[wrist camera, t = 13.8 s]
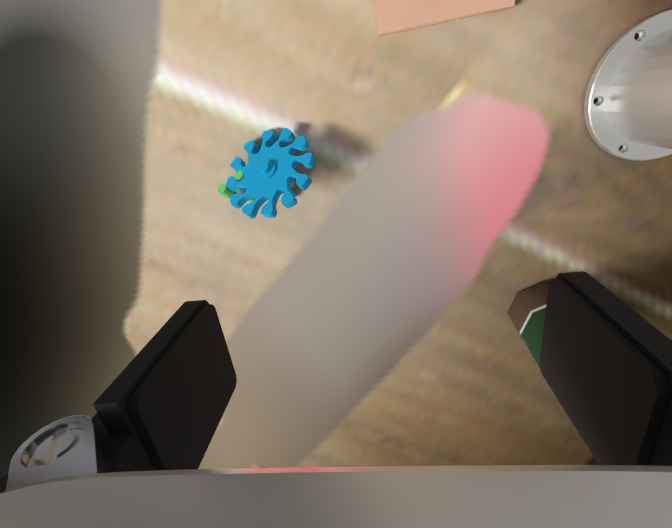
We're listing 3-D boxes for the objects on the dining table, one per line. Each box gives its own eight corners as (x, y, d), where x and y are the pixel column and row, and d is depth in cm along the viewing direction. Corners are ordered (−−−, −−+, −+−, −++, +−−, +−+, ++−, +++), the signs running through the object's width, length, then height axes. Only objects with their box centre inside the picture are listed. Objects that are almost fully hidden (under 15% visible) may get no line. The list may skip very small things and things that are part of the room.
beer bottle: (571, 330, 45) (753, 544, 24) (506, 336, 47) (622, 545, 25) (576, 275, 42) (791, 464, 21) (506, 284, 43) (639, 470, 22)
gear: (307, 111, 36) (310, 199, 32) (330, 146, 41) (335, 225, 38) (216, 143, 39) (210, 225, 36) (248, 171, 45) (245, 245, 41)
